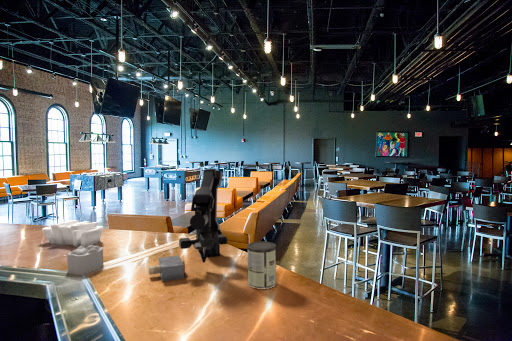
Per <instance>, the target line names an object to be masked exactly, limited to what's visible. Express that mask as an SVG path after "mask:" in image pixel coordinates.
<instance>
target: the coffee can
mask: <svg viewBox="0 0 512 341" xmlns="http://www.w3.org/2000/svg"><path fill="white" fill-rule="evenodd" d="M246 247H247V286H248V285H249V286H250V287H249V288H251V287H254V288H259V289H264V288H265V289H266V290H269V289H268V288H271V289H273V288H274V286H275V285H276V286H277V255H276V254H277V244H276V243H274V242H270V241H265V240H264V241H252V242H250V243H247V246H246ZM276 286H275V287H276ZM272 287H273V288H272Z"/></svg>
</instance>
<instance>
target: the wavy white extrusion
mask: <svg viewBox="0 0 512 341" xmlns="http://www.w3.org/2000/svg"><path fill="white" fill-rule="evenodd" d="M103 230H104V226H103V225H99V222H98V221H94V222H90V221H89V220H84V221H79V220H78V219H73V220H68V221H67V220H66V221H64V222H59V223H54V224H51V225H50V226H45V227H43V228H41V231H42V232H43V234H44V235H45V237H46V239H47V240H48V242H49V243H50V244H54V245H55V244H56V245H71V246H73V247H76V248H78V247H80V246H83V247H88V246H90V245H94V246H95V245H96V244H98V243H99V242H100V241H101V236H102V233H103Z"/></svg>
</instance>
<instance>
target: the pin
mask: <svg viewBox="0 0 512 341" xmlns="http://www.w3.org/2000/svg"><path fill="white" fill-rule="evenodd" d="M181 260H182V262H183V264H184V273H185V271H186V264H185V260H184V259H181ZM148 273H149V274H148V275H149V276H150V275H158V274H159V275H160V273H161V265H159V264H158V265H151V266H148Z"/></svg>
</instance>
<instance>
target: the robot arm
mask: <svg viewBox="0 0 512 341" xmlns="http://www.w3.org/2000/svg"><path fill="white" fill-rule="evenodd" d="M222 181H223V173H222V171H221V170H216V169H214V168H204V170H203V171H202V180H201V184H200V188H198V189H196V191H195V192H194V195H193V196H192V200H191V201H192V202H191V207H190V211H191V212H194V215H192V216H191V217H190V219H189V224H190V227H191V228H192V229H193V230H195V233H196V234H195V239H190V237H181V238H179V240H178V246H179V248H180V249H182V250H185V249H190V248H192V246H193V248H194V249H195V250H197V251H198V254H199V257H200V259H201V261H202V263H204V264H206V261H207V258H211V257H218V256H221V254H222V253H221V252H220V250H221V249H220V248H221V245H222V246H223V245H227V244H229V243H228V241H229V240H228V237H227V235H225V234H223V232H222V230H221V228H220V227H221V225H220V224H219V222H218V220H217V219H218V218H217V217H218V214H217V213H218V189H219V187H220V186H221V185H222Z"/></svg>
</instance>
